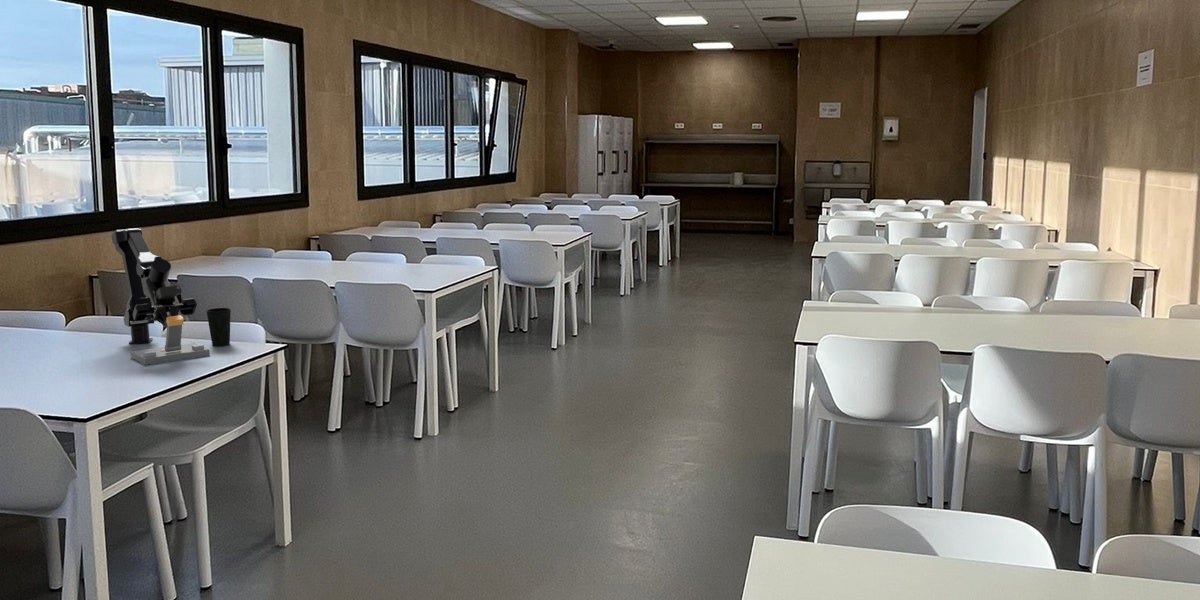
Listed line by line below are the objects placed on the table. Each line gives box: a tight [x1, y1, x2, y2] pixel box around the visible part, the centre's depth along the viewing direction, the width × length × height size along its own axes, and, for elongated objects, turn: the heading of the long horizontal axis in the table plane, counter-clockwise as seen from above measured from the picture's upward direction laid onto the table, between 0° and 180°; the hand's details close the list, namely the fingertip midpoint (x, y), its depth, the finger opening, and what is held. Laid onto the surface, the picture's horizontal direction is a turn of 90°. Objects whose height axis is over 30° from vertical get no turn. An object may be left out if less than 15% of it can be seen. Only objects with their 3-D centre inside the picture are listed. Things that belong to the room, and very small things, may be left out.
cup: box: [206, 307, 232, 348], centre depth 349 cm, size 8×8×12 cm
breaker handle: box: [164, 314, 184, 352], centre depth 328 cm, size 2×4×12 cm, turn 132°
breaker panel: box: [130, 342, 211, 366], centre depth 333 cm, size 14×20×3 cm
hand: (173, 330), depth 328 cm, fingers closed, pressing on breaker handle
